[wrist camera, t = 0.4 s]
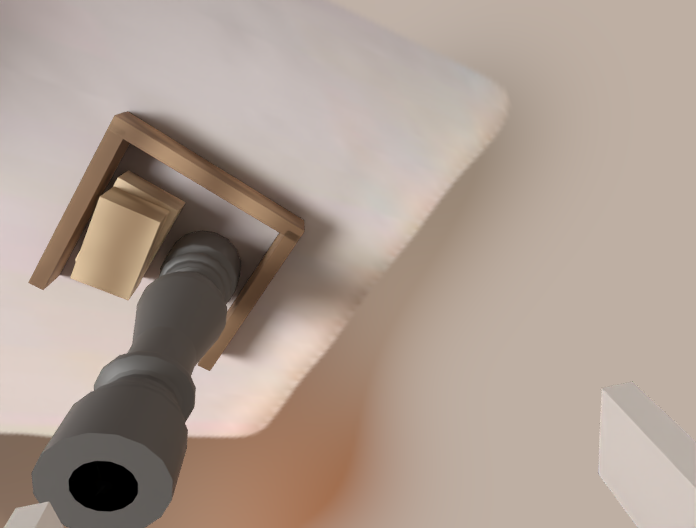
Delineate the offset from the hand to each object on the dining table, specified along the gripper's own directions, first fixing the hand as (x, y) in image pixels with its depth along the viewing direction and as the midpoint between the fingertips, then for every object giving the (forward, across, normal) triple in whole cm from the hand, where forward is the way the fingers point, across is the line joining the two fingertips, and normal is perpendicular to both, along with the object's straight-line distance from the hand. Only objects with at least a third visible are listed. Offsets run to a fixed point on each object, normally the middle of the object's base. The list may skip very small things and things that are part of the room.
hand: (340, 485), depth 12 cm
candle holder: (+33, -10, -6) cm, 35 cm away
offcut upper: (+30, -15, -1) cm, 34 cm away
